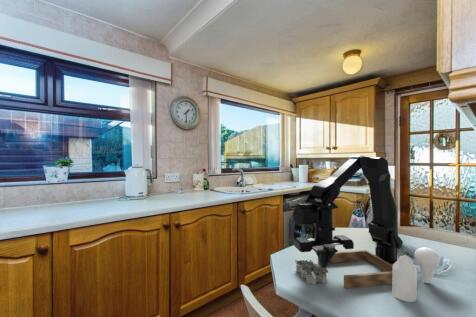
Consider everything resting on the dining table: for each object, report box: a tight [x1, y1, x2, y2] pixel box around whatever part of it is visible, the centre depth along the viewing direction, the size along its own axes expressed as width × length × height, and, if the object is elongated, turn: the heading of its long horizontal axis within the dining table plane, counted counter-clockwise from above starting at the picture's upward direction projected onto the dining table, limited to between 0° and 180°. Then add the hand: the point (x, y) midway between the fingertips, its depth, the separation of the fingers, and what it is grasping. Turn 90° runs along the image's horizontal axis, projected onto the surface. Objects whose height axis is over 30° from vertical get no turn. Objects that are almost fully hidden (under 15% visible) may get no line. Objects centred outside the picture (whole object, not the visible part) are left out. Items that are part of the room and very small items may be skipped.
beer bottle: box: [371, 170, 399, 236], centre depth 108 cm, size 10×10×33 cm
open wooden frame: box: [317, 249, 393, 290], centre depth 79 cm, size 20×17×4 cm
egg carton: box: [294, 259, 329, 285], centre depth 77 cm, size 11×8×4 cm
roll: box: [391, 254, 418, 303], centre depth 65 cm, size 6×12×6 cm
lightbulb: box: [414, 246, 441, 284], centre depth 72 cm, size 6×6×11 cm
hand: (323, 268), depth 77 cm, fingers closed
